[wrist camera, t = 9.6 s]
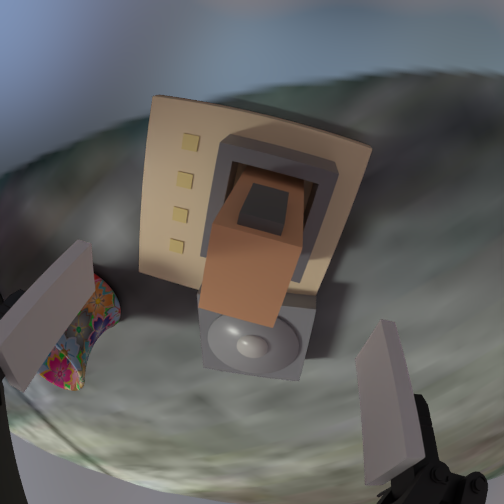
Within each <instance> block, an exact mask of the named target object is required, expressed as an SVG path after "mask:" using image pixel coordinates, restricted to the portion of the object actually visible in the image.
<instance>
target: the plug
mask: <svg viewBox="0 0 504 504" xmlns="http://www.w3.org/2000/svg"><path fill="white" fill-rule="evenodd" d="M303 214H304V180H303V179H299V178H296V177H292V176H288V175H285V174H281V173H277V172H274V171H270V170H266V169H262V168H258V167H255V166H251V165H247V167H246V168H245V170H244V172H243V173H242V175H241V177H240V178H239V180H238V181H237V183H236V185H235V186H234V188H233V190H232V191H231V193H230V195H229V196H228V198H227V200H226V201H225V203H224V204H223V206H222V208H221V209H220V211H219V213H218V215H217V216H216V218H215V220H214V221H213V223H212V228H211V233H210V239H209V245H208V251H207V256H206V262H205V268H204V274H203V281H202V287H201V293H200V300H199V306H198V308H202V309H205V310H208V311H212V312H215V313H219V314H222V315H226V316H230V317H233V318H237V319H241V320H244V321H248V322H252V323H256V324H259V325H263V326H267V327H271V328H273V327H274V324H275V321H276V319H277V316H278V314H279V311H280V308H281V306H282V303H283V300H284V298H285V295H286V292H287V289H288V287H289V284H290V281H291V279H292V276H293V273H294V270H295V268H296V265H297V262H298V259H299V256H300V254H301V251H302V248H303Z"/></svg>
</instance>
